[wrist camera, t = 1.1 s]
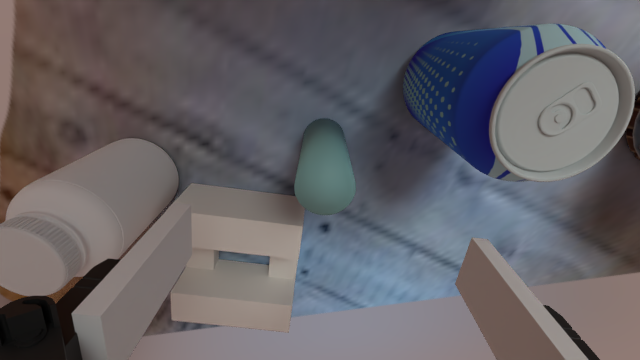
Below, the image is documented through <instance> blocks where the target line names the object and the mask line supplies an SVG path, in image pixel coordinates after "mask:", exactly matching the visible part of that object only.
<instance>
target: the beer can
mask: <svg viewBox="0 0 640 360" xmlns="http://www.w3.org/2000/svg"><path fill="white" fill-rule="evenodd" d="M403 95H404V100H405V103H406V106H407V108H408V110H409V112H410V113H411V115H412V116H413V117H414V118H415V119H416V120H417V121H418V122H419V123H421V124H422V125H423V126H424V127H426V128H427V129H428V130H429V131H430V132H432V133H433V134H434V135H435V136H437V137H438V138H439V139H440V140H441V141H443V142H444V143H445V144H446V145H448V146H449V147H450V148H451V149H452V150H454V151H455V152H456V153H457V154H459V155H460V156H461V157H462V158H464V159H465V160H466V161H467V162H468V163H470V164H471V165H472V166H473V167H475V168H476V169H477V170H479V171H480V172H482V173H484V174H486V175H488V176H491V177H493V178H496V179H500V180H506V181H537V182H551V181H558V180H562V179H566V178H569V177H572V176H575V175H577V174H579V173H581V172H583V171H585V170H587V169H589V168H590V167H592V166H593V165H595V164H596V163H597V162H599V161H600V160H601V159H602V158H603V157H605V156H606V155H607V154H608V153H609V152H610V151H611V150H612V148H613V147H614V146H615V145H616V144H617V142H618V141H619V140H620V138H621V137H622V135H623V134H624V132H625V130H626V128H627V126H628V124H629V121H630V119H631V116H632V113H633V108H634V102H635V87H634V82H633V78H632V75H631V73H630V71H629V69H628V67H627V66H626V64H625V63H624V62H623V61H622V60H621V58H619V57H618V56H617V55H616V54H614V53H613V52H611V51H610V50H607V49H606V48H605V46H604V45H603V44H602V43H601V42H600V41H599V40H598V39H597V38H595V37H594V36H592V35H591V34H589V33H588V32H586V31H584V30H582V29H580V28H577V27H573V26H569V25H564V24H538V25H527V26H515V27H503V28H491V29H479V30H468V31H456V32H449V33H445V34H442V35H439V36H437V37H435V38H433V39H431V40H430V41H428V42H427V43H426V44H424V45H423V46H422V47H421V48H420V49H419V50H418V51H417V52H416V54H415V55H414V56H413V58H412V59H411V61H410V63H409V65H408V67H407V69H406V72H405V76H404V81H403Z"/></svg>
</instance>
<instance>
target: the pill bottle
mask: <svg viewBox="0 0 640 360" xmlns="http://www.w3.org/2000/svg"><path fill="white" fill-rule="evenodd" d="M178 184H179V177H178V171H177V168H176V166H175V164H174V162H173V160H172V159H171V158H170V156H169V155H168V154H167V153H166V152H165V151H164V150H163V149H161V148H160V147H159V146H157V145H155V144H153V143H151V142H149V141H146V140H143V139H137V138H127V139H121V140H118V141H115V142H112V143H110V144H108V145H106V146H104V147H102V148H100V149H98V150H96V151H94V152H92V153H90V154H88V155H86V156H84V157H82V158H80V159H78V160H76V161H74V162H72V163H70V164H68V165H66V166H64V167H62V168H60V169H58V170H56V171H54V172H52V173H50V174H48V175H46V176H44V177H42V178H40V179H38V180H36V181H34V182H32V183H31V184H29V185H27V186H25V187H24V188H23V189H21V190H20V191H19V192H18V193H17V195H16V196H15V197H14V198H13V199H12V201H11V202H10V204H9V206H8V209H7V212H6V221H5V222H3V223H1V224H0V285H1V286H2V287H4V288H6V289H8V290H10V291H12V292H15V293H17V294H21V295H25V296H46V295H50V294H52V293H55V292H57V291H59V290H60V289H61V288H63V287H64V286H65V285H66V284H67V283H68V282H69V281H70V280H71V279H72V278H73V277H81V276H85V275H86V274H87V273H88V272H89V271H90V270H91V269H92V268H93V267H94V266H96V265H98V264H99V263H101V262H103V261H105V260H107V259H108V258H109V259H119V257H120V256H121V255H122V254H123V253H124V252H125V251H126V250H127V249H128V248H129V247H130V245H131V244H132V243H133V242H134V241H135V240H136V239H137V238H138V237H139V236H140V235H141V233H142V232H143V231H144V230H145V229H146V228H147V227H148V226H149V225H150V224H151V223H152V221H153V220H154V219H155V218H156V217H157V216H158V215H159V214H160V213H161V212H162V210H163V209H164V208H165V207H166V206H167V205H168V204H169V203H170V202H171V200H172V199H173V197H174V196H175V194H176V192H177V189H178Z"/></svg>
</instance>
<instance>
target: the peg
mask: <svg viewBox="0 0 640 360" xmlns="http://www.w3.org/2000/svg"><path fill="white" fill-rule="evenodd" d="M294 190H295V195H296V198H297V200H298V201H299V203H300V204H301V205H302V206H303V207H304V208H305V209H306V210H308V211H310V212H312V213H315V214H318V215H332V214H335V213H338V212H340V211H342V210H343V209H345V208H346V207H347V206H348V205H349V204H350V203H351V201H352V200H353V198H354V195H355V191H356V183H355V178H354V174H353V170H352V166H351V162H350V157H349V153H348V149H347V145H346V141H345V137H344V133H343V130H342V128H341V127H340V125H339V124H338V123H336V122H335V121H333V120H330V119H325V118H323V119H318V120H315V121H313V122H312V123H311V124H309V126H308V127H307V128H306V130H305V133H304V137H303V143H302V148H301V153H300V158H299V163H298V168H297V173H296V178H295V184H294Z"/></svg>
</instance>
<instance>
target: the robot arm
mask: <svg viewBox="0 0 640 360" xmlns="http://www.w3.org/2000/svg"><path fill="white" fill-rule="evenodd" d="M191 256H192V223H191V204H183V203H173V204H172V205H171V206H170V207H169V208H168V210H167V211H166V212H165V213H164V214H163V215H162V216H161V217H160V218H159V219H158V220H157V221H156V223H155V224H154V225H153V226H152V227H151V228H150V229H149V230H148V231H147V232H146V233H145V234H144V236H143V237H142V238H141V239H140V240H139V241H138V242H137V243H136V244H135V245H134V246H133V247H132V249H131V250H130V251H129V252H128V253H127V254H126V255H125V256H124V257H123V258H122V259H121V260H118V259H109V258H108V259H107V260H105V261H103V262H101V263H99V264H98V265H96V266H94V267H93V268H92V269H91V270H90V271H89V272H88V273H87V274H86V275H85V276H84V277H83V279H81V280H80V281H79V282H78V283H77V284H75V286H74V288H71V289H70V290H69V291H68V292H67V293H66V294H65V295H64V296H63V297H62V298H61V299H60V300H59V301H58V302H57V303H56V304H55V302H54V301H53V299H52V298H49V297H47V296H30V297H25V298H21V299H18V300H16V301H13V302H10V303H9V304H7V305H5V306H4V307H2V308H0V360H128V359H129V357H130V356H131V354H132V352H133V351H134V349H135V348H136V346H137V344H138V343H139V341H140V339H141V338H142V336H143V334H144V333H145V331H146V330H147V328H148V326H149V325H150V323H151V321H152V320H153V318H154V316H155V315H156V313H157V312H158V310H159V308H160V307H161V305H162V303H163V302H164V300H165V298H166V297H167V295H168V294H169V292H170V290H171V289H172V287H173V285H174V284H175V282H176V280H177V279H178V277H179V276H180V274H181V272H182V271H183V269H184V267H185V266H186V264H187V262H188V261H189V259H190V258H191ZM455 285H456V286H457V288H458V290H459V292H460V294H461V295H462V297H463V299H464V301H465V303H466V305H467V306H468V308H469V310H470V312H471V313H472V315H473V317H474V319H475V321H476V323H477V324H478V326H479V328H480V330H481V332H482V334H483V335H484V337H485V339H486V341H487V343H488V345H489V346H490V348H491V350H492V352H493V353H494V355H495V357H496V359H497V360H600V359H599V358H598V357H597V356H596V355H595V353H594V352H593V351H592V350H591V349H590V348H589V347H588V346H587V344H586V343H585V342H584V341H583V340H581V338H580V336H579V335H578V334H577V333H576V332H575V331H574V330H572V327H571V326H570V325H569V324H568V323H567V321H566V320H565V319H564V318H563V317H562V316H561V315H560V314H558V313H557V312H556V311H554V310H553V309H552V308H550V307H549V306H546V305H542V304H541V302H540V301H539V300H538V299H537V298H536V296H535V295H534V294H533V293H532V292H531V291H530V289H529V288H528V287H527V286H526V285H525V283H524V282H523V281H522V280H521V279H520V277H519V276H518V275H517V274H516V273H515V271H514V270H513V269H512V268H511V267H510V265H509V264H508V263H507V262H506V261H505V259H504V258H503V257H502V256H501V255H500V254H499V252H498V251H497V250H496V249H495V248H494V246H493V245H492V244H491V243H490V242H489V240H488V239H480V238H472V239H471V241H470V244H469V247H468V250H467V253H466V255H465V258H464V261H463V264H462V266H461V269H460V272H459V275H458V278H457V280H456V283H455Z"/></svg>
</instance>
